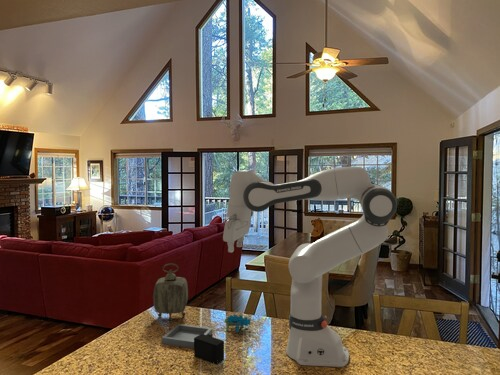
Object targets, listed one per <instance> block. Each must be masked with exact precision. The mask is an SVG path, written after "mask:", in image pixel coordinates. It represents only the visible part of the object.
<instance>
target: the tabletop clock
mask: <svg viewBox="0 0 500 375" xmlns="http://www.w3.org/2000/svg"><path fill="white" fill-rule="evenodd" d="M167 266H175V267H176V268H177V269H175V270H173V269H169V270H165V269H164V268H165V267H167ZM178 270H179V266H178V264H176V263H173V262H172V263H170V262H169V263H166V264H164V265H163V266H162V271H164V272H165V273H167V274H166V275H165V276H164V277H160V278H158V279H157V281H156V282H155V285H154V288H153V293H152V294H153V295H152V300H153V309H154V310H155V313H158V315H157V316H158V317H160V318H161V317H162V315H163V314H168V315H169V317H168V321H169V322H171V321H173V317H172V314H180V313H181V316H182V317H185V316H186V312H184V311H185V310H186V308H187V303H188V300H189V288H188V281H187V279H186V278H185V277H181V276H176V274H175V273H176V272H178Z"/></svg>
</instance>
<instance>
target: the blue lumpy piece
mask: <svg viewBox="0 0 500 375" xmlns="http://www.w3.org/2000/svg"><path fill="white" fill-rule="evenodd" d="M224 323H225V324H226V332H229V329H230V328H229V327H235V326H236V327H235V328H236V330H235V333H236V334H238V333H239V331H240V327H241V328H243V327H245V326H246V327H248V326H249V325H251V319H250V318H248V316H244V318H243V315H242V314H241V315H240V314H239V316H238V315H237V314H233V315H231V314H230V315H229V316H227V318H225V319H224Z"/></svg>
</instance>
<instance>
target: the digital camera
mask: <svg viewBox="0 0 500 375" xmlns="http://www.w3.org/2000/svg"><path fill="white" fill-rule="evenodd" d="M193 357H194V358H196V359H199V360H202V361H205V362H207V363H210V364H213V365H216V366H217V365H219V364H220V363H222V362H223V361H224V360H225V341H224V339H223V340H222V339H219V338H216V337H214V336H213V335H209V334H207V335H204V334H201V335H199V336H197V337H195V338H194V349H193Z"/></svg>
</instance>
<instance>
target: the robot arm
mask: <svg viewBox="0 0 500 375" xmlns="http://www.w3.org/2000/svg"><path fill="white" fill-rule="evenodd" d="M228 194H229V199H228V202H227V208H226V209H227V210H226V217H227V218H229V219H227V220H226V221H225V223H224V228H223V229H224V230H223V235H222V241H223V242H227V252H228V253H233V252H234V251H235V247H234V245H235V242H236V241H237V242H236V247H237V248H242V247H243V241H244V238H245V236H246V235H247V234H248V233H249V232H250V228H251V223H252V217H253V216H254V212H255V213H259V212H264V211H265V210H267V209H268V208H270V207H272V206H273V205H274V206H275V205H277V204H282V203H288V202H295V201H300V200H302V201H303V200H311V201H337V200H345V199H353V200H354V199H355V200H357V201H359V204H360V207H361V209H362V211H363V214H362V215H361V217H360V218H359V219H357V220H356V221H353V222H351V223H349V224H347V225H344V226H343V227H341V228H340V227H339V229H336V230H334V231H332V232H330V233H328V234H326V235H324V236H323V237H321V238H320V239H317V240H316V241H315V242H312V243H310V242H307V243H302V244H300V245H298V247H296V249H295V250H294V251H293V253H292V254H291V256H290V258H289V260H288V273H289V274H290V276H291V277H290V278H291V287H290V312H289V317H288V326H289V328H288V329H289V335H288V341H287V345H286V349H285V353H286V355H287V356H288V357H289V358H291V359H293V360H295V361H296V363H297V364H298V365H301V366H313V367H316V366H317V367H333V368H334V367H335V368H337V367H338V368H343V367H345V366H346V365H347V364H348V363H349V359H350V353H349V350H348V348H347V347H345V346H343V341H342V338H341V336H340V335H339V333H337V332H336V331H334V330H333V329H332V328H331V327H329V326H328V318H327V315H323V314H322V290H323V289H322V288H323V275H325V274H327V273H328V272H330V271H331V270H333V269H335V268H336V267H338V266H340V265H342V264H345V262H347V261H350V260H352V259H354V258H357V257H359V256H362V255H363V254H365V253H368V252H370V251H372V250H373V249H374V248H377V247H379V245H382V243H384V242H385V241H387V240H388V236H389V230H388V226H387V225H388V223H389V221H391V219H392V218H393V217H394V215H395V214H396V212H397V208H398V201H397V197H396V196H395V194H394V193H393V192H392V191H391V189H389V188H388V187H386V186H383V185H380V184H377V183H374V182H372V181H371V179H370V175H369V172H368V171H367V170H366V169H365V168H364V167H362V166H343V167H342V166H341V167H333V168H328V169H323V170H321V171H318V172H315V173H313V174H311V175H309V176H307V177H305V178H303V179H300V180H296V181H290V182H285V183H278V184H274V183H273V182H270V181H268V180H266V179H264V178H262V177H260V176H258V174H256V173H255V172H254V171H253V170H251V169H245V170H236V171H235V172H232V175H231V178H230V183H229V190H228Z"/></svg>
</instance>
